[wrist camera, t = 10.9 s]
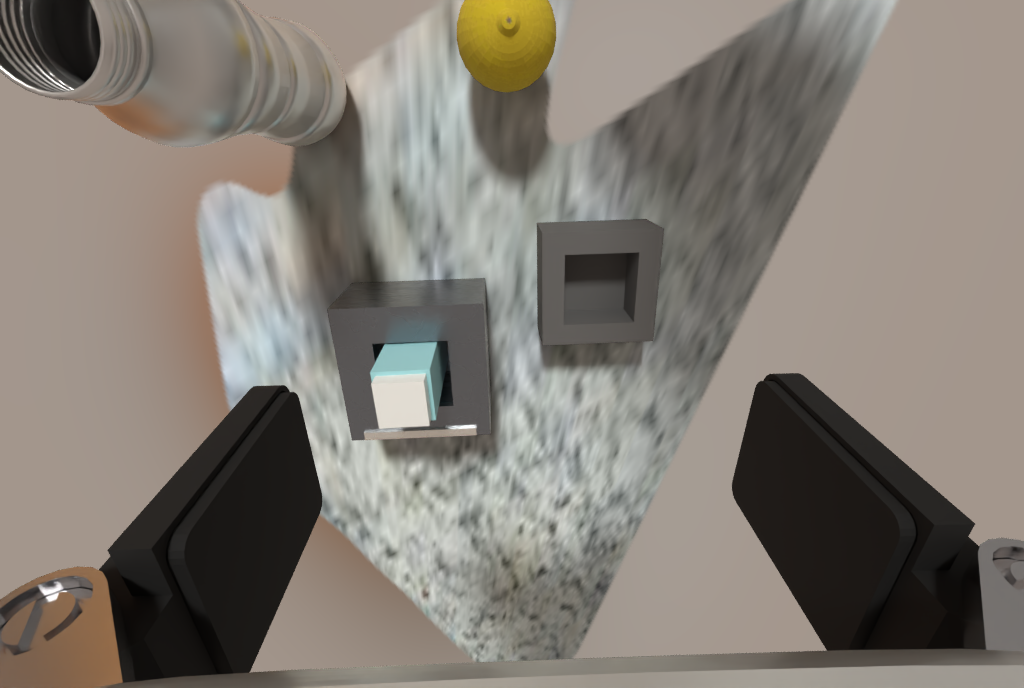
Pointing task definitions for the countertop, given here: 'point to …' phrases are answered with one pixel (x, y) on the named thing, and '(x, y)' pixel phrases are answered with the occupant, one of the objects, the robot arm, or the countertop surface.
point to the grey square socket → (597, 281)
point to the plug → (408, 383)
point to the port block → (415, 318)
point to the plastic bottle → (177, 67)
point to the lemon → (506, 41)
